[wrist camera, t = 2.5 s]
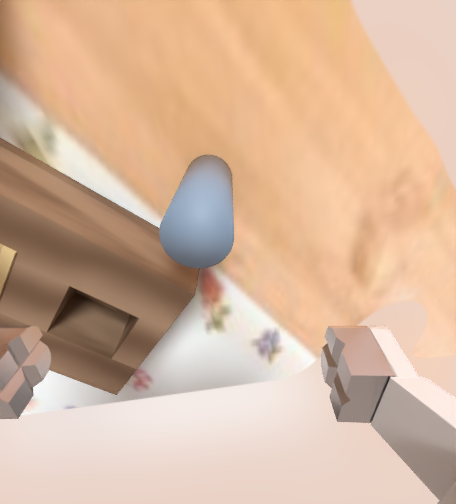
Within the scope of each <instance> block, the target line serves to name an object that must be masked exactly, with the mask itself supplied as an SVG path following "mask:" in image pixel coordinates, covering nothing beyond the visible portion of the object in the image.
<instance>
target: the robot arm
mask: <svg viewBox="0 0 456 504" xmlns="http://www.w3.org/2000/svg"><path fill="white" fill-rule="evenodd" d="M42 336H43V335H42V333H41V331H40V329H39V327H37V326H30V325H0V419H18V418H19V417H20V415H21V413H22V412H23V410H24V409H25V407H26V406H27V404H28V403H29V401H30V399H31V398H32V396H33V387H34V386H35V385H37V384H38V383H40V382H41V381H42V380H43V379H44V377H45V376H46V374H47V372H48V371H49V367H50V363H51V352H50V350H49V348H48V346H47V345H45V344H44V343H42V342H41V341H40V340H41V338H42ZM325 338H326V341H327V344H326V345H325V346H324V347H323V348H322V353H321V367H322V373H323V377H324V380H325V382H326V383H327V384H328V385H329V386H330V387H331V388H332V390H331V394H330V400H331V403H332V406H333V409H334V413H335V415H336V419H337V421H338V422H362V423H371V425H372V427H373V428H374V429H375V430H376V431H377V432H378V433H379V434H380V435H381V437H382V438H383V439H384V440H385V441H386V442H387V443H388V444H389V445H390V446H391V447H392V449H393V450H394V451H395V452H396V453H397V454H398V455H399V456H400V457H401V458H402V460H403V461H404V462H405V463H406V464H407V465H408V466H409V467H410V468H411V470H412V471H413V472H414V473H415V474H416V475H417V476H418V477H419V478H420V480H421V481H422V482H423V483H424V484H425V485H426V486H427V487H428V488H429V489H430V491H431V492H432V493H433V494H434V495H435V496H436V497H437V498H438V499H439V500H440V501H439V502H438V504H456V398H455V397H453V396H452V395H451V394H449V393H448V392H446V391H445V390H443V389H442V388H440V387H439V386H438V385H436V384H435V383H433V382H432V381H430V380H429V379H428V378H426V377H419V376H418V374H417V373H416V371H415V369H414V368H413V366H412V365H411V363H410V362H409V360H408V358H407V357H406V355H405V354H404V352H403V351H402V349H401V347H400V346H399V344H398V343H397V341H396V340H395V338H394V336H393V335H392V333H391V332H390V330H389V329H388V328H387V327H386V326H328V328H327V330H326V334H325Z"/></svg>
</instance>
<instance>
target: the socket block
mask: <svg viewBox="0 0 456 504" xmlns="http://www.w3.org/2000/svg"><path fill="white" fill-rule="evenodd" d="M159 230H160V229H159V228H158V227H156V226H154V225H152V224H151V223H149V222H147V221H145V220H144V219H142V218H140V217H138V216H137V215H135V214H133V213H131V212H130V211H128V210H126V209H124V208H122V207H121V206H119V205H117V204H115V203H114V202H112V201H110V200H108V199H107V198H105V197H103V196H101V195H100V194H98V193H96V192H94V191H93V190H91V189H89V188H87V187H86V186H84V185H82V184H80V183H79V182H77V181H75V180H73V179H71V178H70V177H68V176H66V175H64V174H63V173H61V172H59V171H57V170H56V169H54V168H52V167H50V166H49V165H47V164H45V163H43V162H42V161H40V160H38V159H36V158H35V157H33V156H31V155H29V154H27V153H26V152H24V151H22V150H20V149H19V148H17V147H15V146H13V145H12V144H10V143H8V142H6V141H5V140H3V139H1V138H0V325H30V326H37V327H39V329H40V331H41V333H42V335H43V336H42V338H41V340H40V341H41V342H42V343H44V344H45V345H47V346H48V348H49V350H50V352H51V363H50V367H49V370H51V371H54V372H56V373H59V374H62V375H64V376H67V377H70V378H72V379H75V380H78V381H80V382H83V383H86V384H88V385H91V386H94V387H96V388H99V389H102V390H104V391H107V392H110V393H112V394H115V395H117V394H118V393H119V391H120V390H121V389H122V388H123V386H124V385H125V384H126V382H127V381H128V380H129V379H130V377H131V376H132V375H133V373H134V372H135V371H136V370H137V368H138V367H139V366H140V364H141V363H142V362H143V361H144V359H145V358H146V357H147V355H148V354H149V353H150V352H151V350H152V349H153V348H154V347H155V345H156V344H157V343H158V341H159V340H160V339H161V338H162V336H163V335H164V334H165V332H166V331H167V330H168V329H169V327H170V326H171V325H172V323H173V322H174V321H175V320H176V318H177V317H178V316H179V314H180V313H181V312H182V311H183V309H184V308H185V307H186V305H187V304H188V303H189V302H190V300H191V299H192V298H193V297H194V295H195V291H196V285H197V279H198V273H199V268H190V267H186V266H183V265H181V264H179V263H177V262H176V261H174V260H173V259H172V258H171V257H170V256H169V255H168V254H167V253H166V252H165V250H164V249H163V247H162V244H161V241H160V236H159Z"/></svg>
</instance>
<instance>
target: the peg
mask: <svg viewBox="0 0 456 504" xmlns="http://www.w3.org/2000/svg"><path fill="white" fill-rule="evenodd" d="M159 236H160V241H161V244H162V247H163V249H164V250H165V252H166V253H167V254H168V255H169V256H170V257H171V258H172V259H173V260H174V261H176V262H177V263H179V264H181V265H183V266H186V267H190V268H207V267H211V266H214V265H216V264H218V263H219V262H221V261H222V260H223V259H225V258H226V256H227V255H228V254H229V252H230V251H231V249H232V246H233V242H234V222H233V188H232V173H231V170H230V168H229V166H228V165H227V163H226V162H225V161H224V160H222V159H221V158H219V157H217V156H214V155H203V156H200V157H198V158H196V159H195V160H193V161H192V162H191V164H190V165H189V167H188V169H187V171H186V173H185V175H184V177H183V179H182V181H181V183H180V185H179V187H178V189H177V191H176V193H175V195H174V197H173V200H172V202H171V204H170V206H169V208H168V210H167V212H166V214H165V216H164V218H163V220H162V222H161V225H160V230H159Z"/></svg>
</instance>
